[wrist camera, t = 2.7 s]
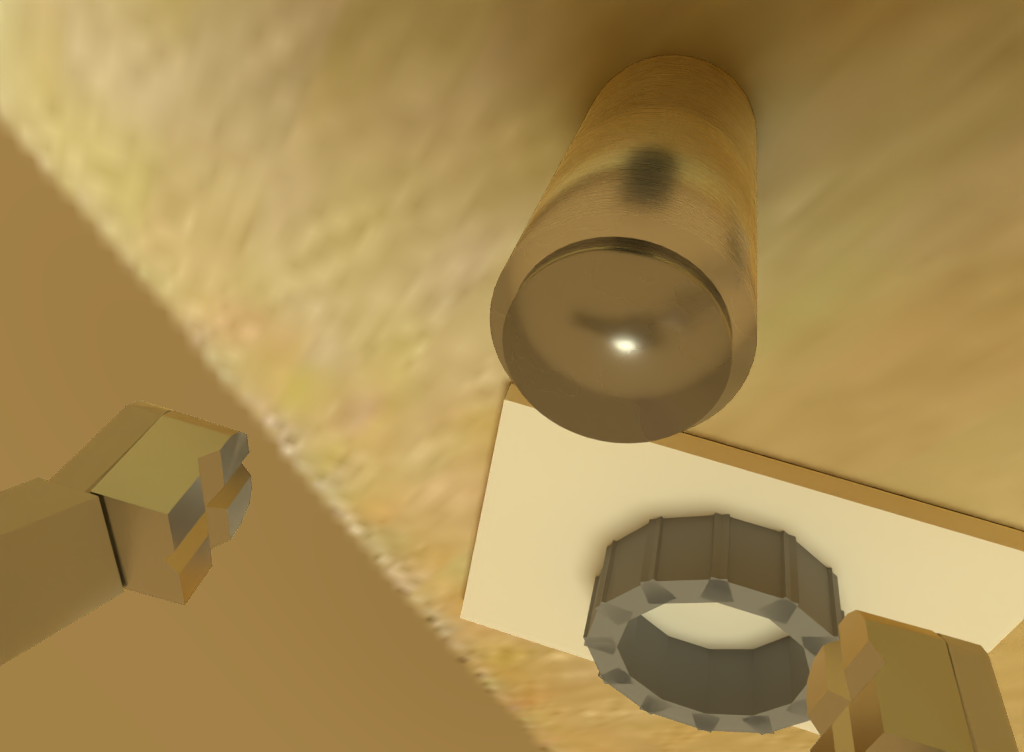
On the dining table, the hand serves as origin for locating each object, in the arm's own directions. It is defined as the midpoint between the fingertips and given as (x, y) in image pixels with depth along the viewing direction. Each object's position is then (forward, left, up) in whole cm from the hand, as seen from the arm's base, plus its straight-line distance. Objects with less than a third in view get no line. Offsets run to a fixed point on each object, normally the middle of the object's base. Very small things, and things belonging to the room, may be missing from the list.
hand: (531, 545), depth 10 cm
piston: (0, 0, -15) cm, 15 cm away
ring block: (-7, +17, -15) cm, 24 cm away
